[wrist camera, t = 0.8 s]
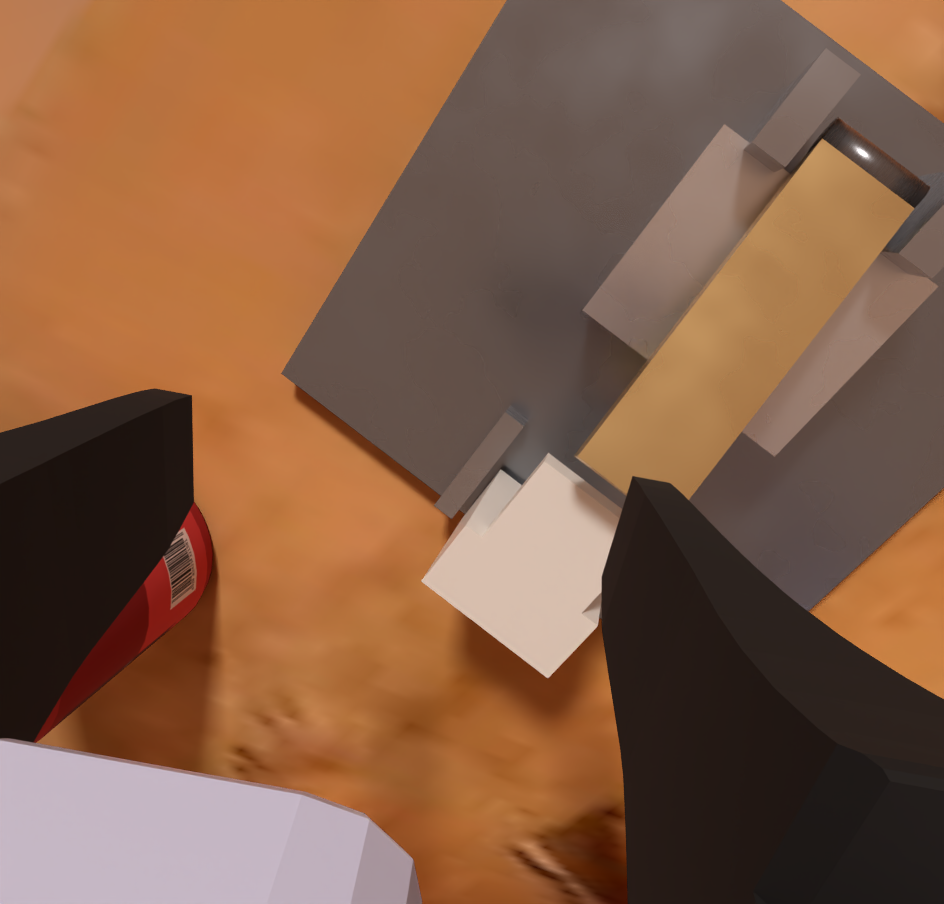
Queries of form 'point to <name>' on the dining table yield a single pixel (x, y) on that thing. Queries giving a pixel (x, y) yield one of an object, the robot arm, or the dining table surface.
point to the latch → (531, 562)
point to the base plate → (558, 235)
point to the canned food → (144, 615)
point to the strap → (755, 314)
